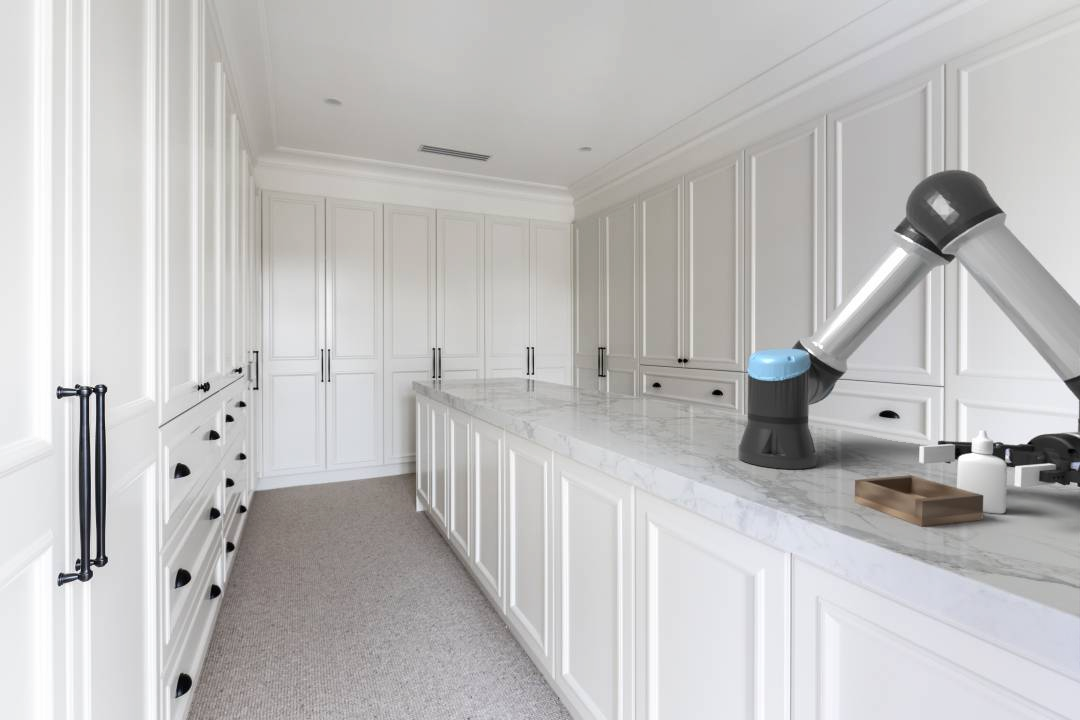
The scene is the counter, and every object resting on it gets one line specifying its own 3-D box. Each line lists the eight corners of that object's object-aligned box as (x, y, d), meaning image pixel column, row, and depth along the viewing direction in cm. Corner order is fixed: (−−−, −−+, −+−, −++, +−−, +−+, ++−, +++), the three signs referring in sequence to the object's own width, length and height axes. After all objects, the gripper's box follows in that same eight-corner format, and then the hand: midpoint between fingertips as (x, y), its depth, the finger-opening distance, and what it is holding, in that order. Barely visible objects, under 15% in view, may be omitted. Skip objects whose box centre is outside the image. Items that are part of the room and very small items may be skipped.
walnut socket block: (854, 501, 81) (855, 479, 81) (909, 496, 84) (910, 475, 84) (921, 526, 70) (922, 501, 70) (982, 519, 73) (983, 495, 73)
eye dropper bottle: (966, 502, 81) (969, 426, 81) (1010, 513, 76) (1013, 432, 75) (950, 505, 79) (953, 428, 79) (994, 517, 74) (997, 434, 74)
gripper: (1180, 504, 70) (1068, 517, 65) (982, 461, 94) (889, 469, 89) (1182, 449, 69) (1071, 458, 64) (983, 421, 94) (890, 426, 88)
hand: (965, 464), depth 76 cm, fingers open, 13 cm apart
